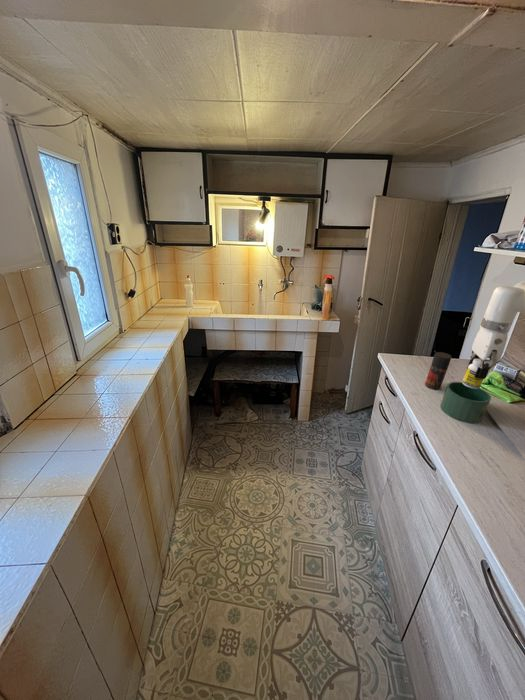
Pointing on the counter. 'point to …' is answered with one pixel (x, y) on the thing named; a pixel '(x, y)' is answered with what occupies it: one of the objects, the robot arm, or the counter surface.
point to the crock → (465, 402)
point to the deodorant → (437, 370)
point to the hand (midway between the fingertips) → (475, 373)
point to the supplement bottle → (470, 373)
